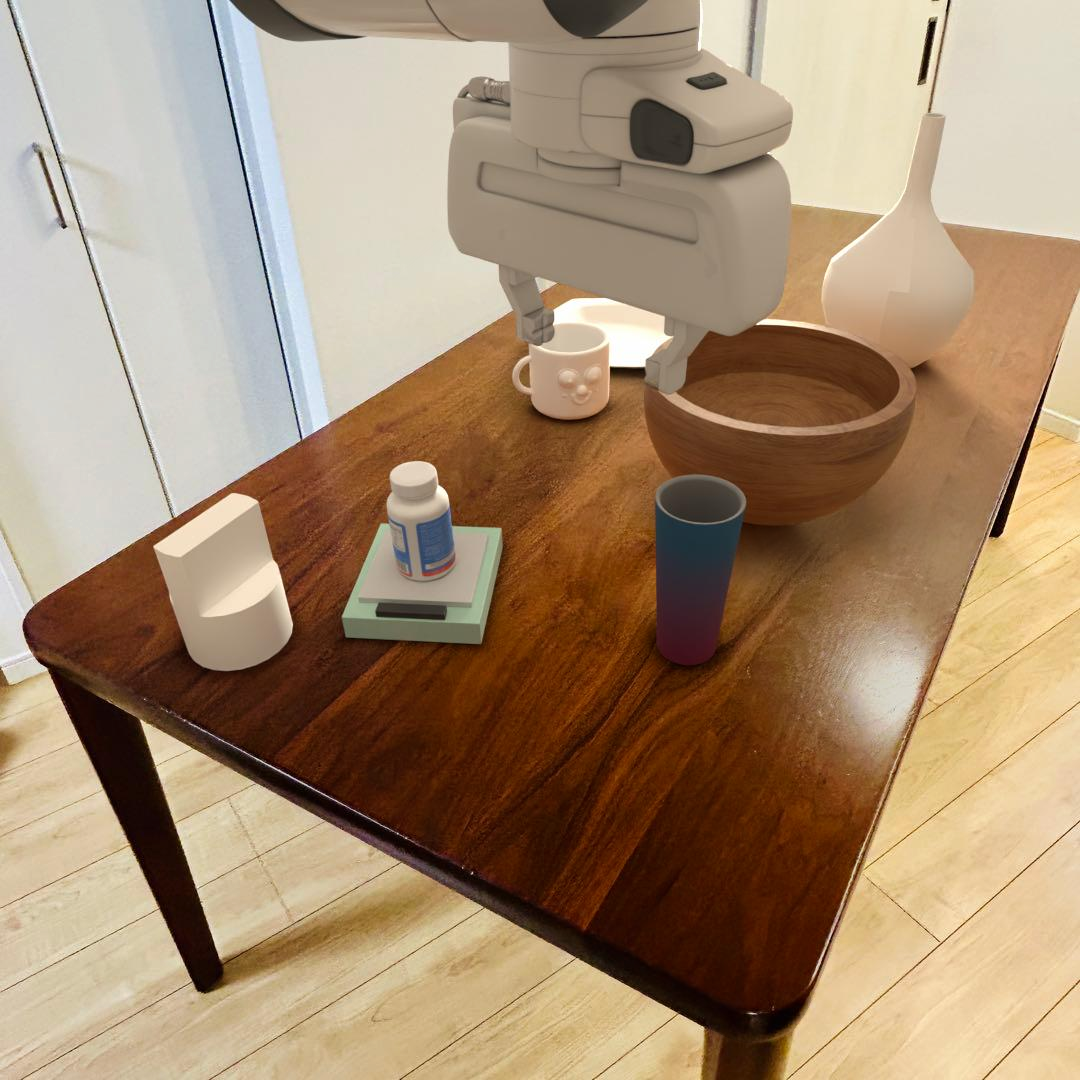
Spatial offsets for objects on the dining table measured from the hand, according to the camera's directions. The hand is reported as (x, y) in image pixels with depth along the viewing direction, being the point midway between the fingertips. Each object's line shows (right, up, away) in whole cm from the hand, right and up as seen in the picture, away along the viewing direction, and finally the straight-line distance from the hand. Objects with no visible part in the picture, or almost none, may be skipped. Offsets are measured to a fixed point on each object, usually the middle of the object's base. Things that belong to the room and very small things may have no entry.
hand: (596, 363), depth 51 cm
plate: (+8, +18, +76) cm, 78 cm away
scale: (-14, -15, +33) cm, 38 cm away
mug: (-1, +6, +61) cm, 61 cm away
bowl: (+20, -6, +43) cm, 48 cm away
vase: (+43, +15, +70) cm, 84 cm away
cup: (+9, -19, +26) cm, 34 cm away
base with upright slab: (-30, -19, +28) cm, 45 cm away
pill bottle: (-14, -12, +31) cm, 36 cm away
